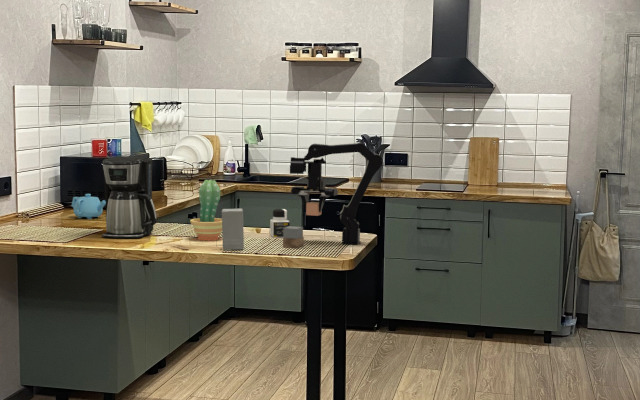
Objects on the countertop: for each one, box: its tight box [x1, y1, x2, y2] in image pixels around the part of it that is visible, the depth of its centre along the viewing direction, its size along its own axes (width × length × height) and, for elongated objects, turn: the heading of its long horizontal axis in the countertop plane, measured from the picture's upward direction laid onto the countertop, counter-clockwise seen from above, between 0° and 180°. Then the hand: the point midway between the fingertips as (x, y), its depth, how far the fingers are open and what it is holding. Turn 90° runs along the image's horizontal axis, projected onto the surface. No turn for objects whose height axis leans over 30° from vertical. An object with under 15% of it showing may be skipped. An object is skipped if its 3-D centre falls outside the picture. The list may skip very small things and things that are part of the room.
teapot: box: [71, 193, 106, 220], centre depth 426 cm, size 20×17×12 cm
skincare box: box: [221, 208, 245, 251], centre depth 342 cm, size 8×7×16 cm
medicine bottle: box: [269, 208, 291, 239], centre depth 376 cm, size 7×7×12 cm
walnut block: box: [282, 236, 305, 249], centre depth 350 cm, size 6×6×4 cm
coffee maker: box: [101, 155, 158, 239], centre depth 375 cm, size 23×32×34 cm
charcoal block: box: [284, 225, 304, 239], centre depth 350 cm, size 6×6×4 cm
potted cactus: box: [190, 179, 222, 241], centre depth 365 cm, size 15×15×25 cm
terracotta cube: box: [305, 201, 323, 217], centre depth 360 cm, size 5×5×5 cm
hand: (313, 211), depth 360 cm, fingers closed on terracotta cube, 5 cm apart
